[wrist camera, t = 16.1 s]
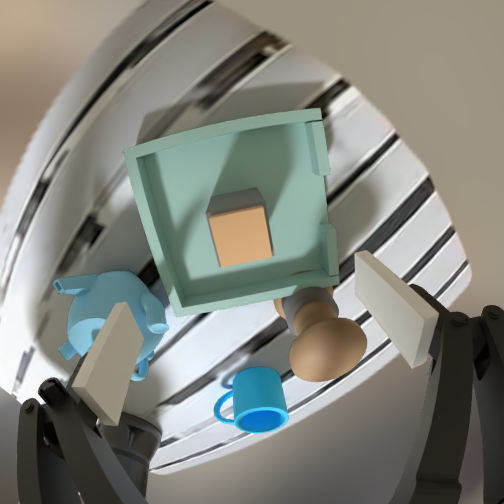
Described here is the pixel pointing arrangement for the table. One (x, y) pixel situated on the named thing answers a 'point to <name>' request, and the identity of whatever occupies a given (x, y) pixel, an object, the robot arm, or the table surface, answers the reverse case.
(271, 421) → the mug
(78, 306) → the teapot
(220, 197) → the gray and orange block
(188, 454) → the table surface
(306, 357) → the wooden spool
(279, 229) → the pale green tray
